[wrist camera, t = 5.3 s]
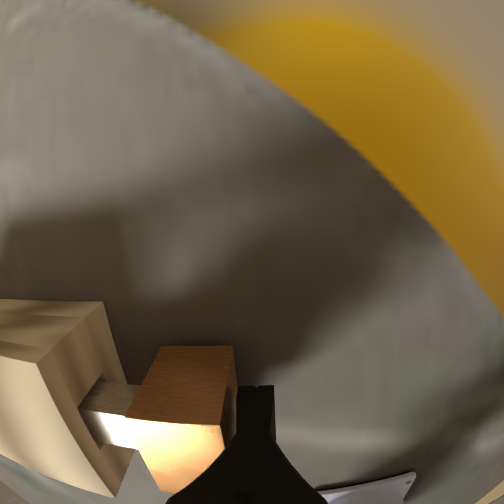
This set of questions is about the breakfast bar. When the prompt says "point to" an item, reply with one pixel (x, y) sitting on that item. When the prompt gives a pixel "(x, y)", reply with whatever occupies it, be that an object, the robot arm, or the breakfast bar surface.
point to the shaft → (170, 412)
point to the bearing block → (57, 390)
